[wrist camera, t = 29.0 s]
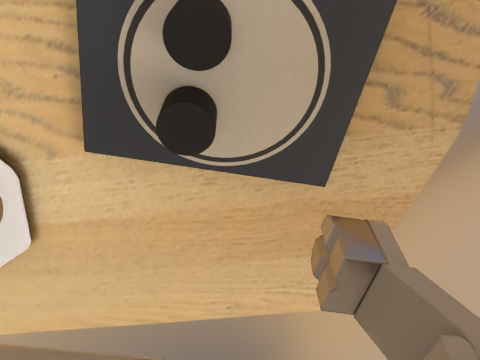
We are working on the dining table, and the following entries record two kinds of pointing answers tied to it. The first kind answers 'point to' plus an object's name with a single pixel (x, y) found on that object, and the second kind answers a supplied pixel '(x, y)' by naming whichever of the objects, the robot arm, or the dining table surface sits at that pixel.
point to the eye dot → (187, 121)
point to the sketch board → (233, 82)
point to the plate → (12, 215)
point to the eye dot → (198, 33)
